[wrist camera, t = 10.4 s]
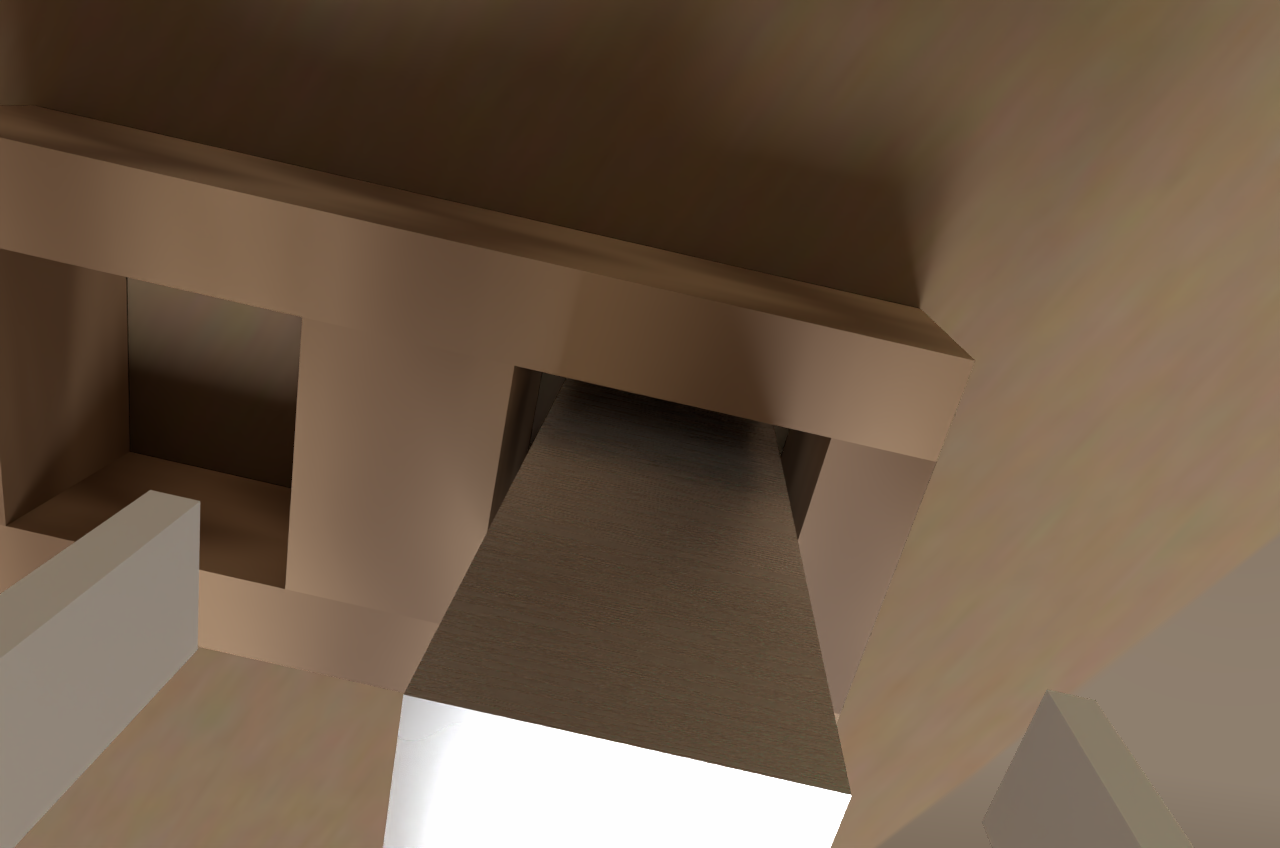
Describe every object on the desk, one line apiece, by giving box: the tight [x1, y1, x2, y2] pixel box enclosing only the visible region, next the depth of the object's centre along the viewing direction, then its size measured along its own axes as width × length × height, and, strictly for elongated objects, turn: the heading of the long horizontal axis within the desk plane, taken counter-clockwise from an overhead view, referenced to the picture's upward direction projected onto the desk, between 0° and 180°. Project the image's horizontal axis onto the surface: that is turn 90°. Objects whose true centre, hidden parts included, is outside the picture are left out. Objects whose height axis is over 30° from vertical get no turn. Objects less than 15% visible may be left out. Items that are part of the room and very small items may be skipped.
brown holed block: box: [0, 105, 975, 724], centre depth 18 cm, size 20×10×4 cm, turn 78°
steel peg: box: [383, 378, 851, 848], centre depth 14 cm, size 4×4×12 cm
